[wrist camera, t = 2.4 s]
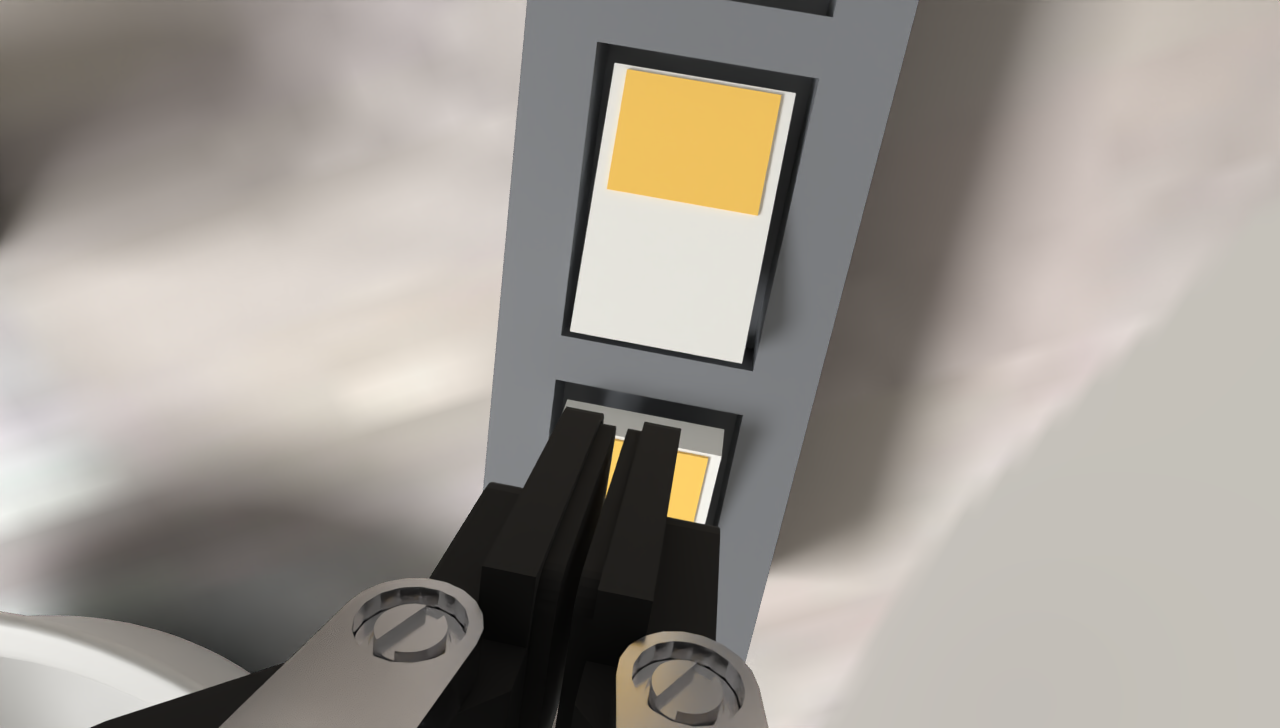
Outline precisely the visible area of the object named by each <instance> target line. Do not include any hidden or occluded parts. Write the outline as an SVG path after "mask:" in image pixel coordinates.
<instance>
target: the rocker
mask: <svg viewBox="0 0 1280 728" xmlns="http://www.w3.org/2000/svg"><path fill="white" fill-rule="evenodd" d="M566 406H567V407H572V408H578V409H583V410H588V411H593V412H598V413H603V414H604V423H603V424H608V425H613V426H616V435H615V442H614V448H613V454H612V461H611V467H610V473H609V479H608V485H607V492H608V489H609V486H610V483H611V479H612V476H613V473H614V470H615V467H616V464H617V461H618V457H619V454H620V451H621V448H622V445H623V442H624V439H625V435H626V432H627V429H634V430H639V431H642V428H643V425H644V422H650V423H655V424H660V425H665V426H670V427H676V428H681V435H680V441H679V447H678V453H677V459H676V465H675V471H674V477H673V483H672V489H671V495H670V501H669V508H668V514H667V517H671V518H676V519H681V520H686V521H691V522H696V523H701V524H705V522H706V518H707V514H708V509H709V505H710V501H711V497H712V493H713V489H714V485H715V481H716V477H717V473H718V469H719V465H720V461H721V457H722V447H723V438H724V429H719V428H714V427H709V426H704V425H699V424H693V423H688V422H683V421H678V420H673V419H667V418H662V417H657V416H652V415H647V414H641V413H636V412H631V411H626V410H621V409H615V408H610V407H605V406H600V405H595V404H589V403H584V402H579V401H574V400H569V399H567V402H566V404H565V407H564V409H565V408H566ZM563 411H564V410H563ZM607 492H606V495H607Z"/></svg>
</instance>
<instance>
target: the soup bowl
mask: <svg viewBox="0 0 1280 728" xmlns="http://www.w3.org/2000/svg"><path fill="white" fill-rule="evenodd" d="M249 674H251V673H249V672H248V671H246V670H245V669H243V668H242V667H240V666H238V665H237V664H235V663H233V662H231V661H230V660H228V659H226V658H225V657H223V656H221V655H219V654H217V653H215V652H213V651H211V650H209V649H207V648H205V647H203V646H200V645H198V644H195V643H193V642H190V641H188V640H186V639H183V638H181V637H178V636H175V635H172V634H169V633H166V632H162V631H159V630H156V629H152V628H148V627H144V626H140V625H136V624H132V623H127V622H121V621H115V620H109V619H102V618H93V617H82V616H64V615H36V616H25V615H19V614H13V613H8V612H2V611H0V728H90V727H93V726H95V725H97V724H100V723H102V722H104V721H107V720H110V719H113V718H116V717H120V716H123V715H126V714H129V713H132V712H135V711H138V710H141V709H144V708H147V707H150V706H153V705H157V704H160V703H163V702H166V701H169V700H172V699H175V698H178V697H181V696H184V695H187V694H190V693H193V692H197V691H200V690H203V689H206V688H209V687H212V686H215V685H218V684H221V683H224V682H227V681H230V680H233V679H237V678H240V677H243V676H246V675H249Z"/></svg>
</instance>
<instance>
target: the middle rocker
mask: <svg viewBox="0 0 1280 728" xmlns="http://www.w3.org/2000/svg"><path fill="white" fill-rule="evenodd" d="M795 95H796V93H792V92H786V91H780V90H774V89H768V88H762V87H756V86H750V85H744V84H738V83H732V82H726V81H720V80H714V79H708V78H702V77H696V76H690V75H685V74H679V73H673V72H667V71H661V70H655V69H649V68H643V67H637V66H631V65H625V64H619V63H615V64H614V70H613V76H612V82H611V88H610V94H609V100H608V106H607V112H606V118H605V124H604V130H603V136H602V142H601V148H600V154H599V160H598V166H597V172H596V178H595V184H594V190H593V196H592V202H591V208H590V214H589V220H588V226H587V232H586V238H585V244H584V250H583V256H582V262H581V268H580V274H579V280H578V286H577V292H576V298H575V304H574V310H573V316H572V322H571V328H570V331H571V332H576V333H581V334H587V335H592V336H597V337H603V338H608V339H613V340H619V341H624V342H629V343H635V344H640V345H645V346H651V347H656V348H661V349H667V350H672V351H677V352H683V353H688V354H693V355H699V356H704V357H709V358H715V359H720V360H725V361H731V362H736V363H741V364H742V361H743V356H744V351H745V346H746V341H747V336H748V331H749V326H750V321H751V316H752V311H753V306H754V301H755V296H756V291H757V286H758V281H759V276H760V271H761V266H762V261H763V256H764V251H765V246H766V241H767V236H768V230H769V225H770V220H771V215H772V210H773V205H774V200H775V195H776V190H777V185H778V180H779V175H780V170H781V165H782V160H783V155H784V150H785V145H786V140H787V135H788V130H789V125H790V120H791V115H792V110H793V105H794V100H795Z"/></svg>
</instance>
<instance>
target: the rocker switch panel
mask: <svg viewBox="0 0 1280 728" xmlns="http://www.w3.org/2000/svg"><path fill="white" fill-rule="evenodd" d="M918 2H919V0H527V8H526V19H525V30H524V41H523V52H522V64H521V75H520V86H519V97H518V108H517V119H516V130H515V142H514V153H513V164H512V175H511V186H510V197H509V208H508V220H507V231H506V242H505V253H504V264H503V275H502V286H501V297H500V309H499V320H498V331H497V342H496V353H495V364H494V375H493V387H492V398H491V409H490V420H489V431H488V442H487V453H486V465H485V476H484V487H483V491H484V489H485V488H486V486H487V485H488V484H489V483H490V482H496V483H501V484H506V485H511V486H516V487H521V488H523V487H524V485H525V483H526V481H527V479H528V478H529V476H530V474H531V472H532V470H533V468H534V466H535V464H536V462H537V460H538V459H539V457H540V455H541V453H542V451H543V449H544V447H545V445H546V443H547V441H548V440H549V438H550V436H551V434H552V432H553V430H554V428H555V426H556V424H557V423H558V421H559V419H560V417H561V415H562V413H563V410H564V407H565V404H566V402H567V399H569V400H574V401H579V402H584V403H589V404H595V405H600V406H605V407H610V408H615V409H621V410H626V411H631V412H636V413H641V414H647V415H652V416H657V417H662V418H667V419H673V420H678V421H683V422H688V423H693V424H699V425H704V426H709V427H714V428H719V429H724V438H723V447H722V457H721V461H720V465H719V469H718V473H717V477H716V481H715V485H714V489H713V493H712V497H711V501H710V505H709V509H708V514H707V518H706V522H705V524H706V525H711V526H716V527H720V555H719V579H718V603H717V627H716V642H718V643H721V644H723V645H724V646H726V647H727V648H728V649H730V650H731V651H733V652H734V653H735V654H737V655H738V656H739V657H740V658H741V659H742V660H743V661H744V662H745V661H746V658H747V654H748V650H749V646H750V642H751V638H752V635H753V631H754V627H755V623H756V619H757V616H758V612H759V608H760V604H761V600H762V597H763V593H764V589H765V585H766V581H767V577H768V574H769V570H770V566H771V562H772V558H773V555H774V551H775V547H776V543H777V539H778V536H779V532H780V528H781V524H782V520H783V516H784V513H785V509H786V505H787V501H788V497H789V494H790V490H791V486H792V482H793V478H794V474H795V471H796V467H797V463H798V459H799V455H800V452H801V448H802V444H803V440H804V436H805V433H806V429H807V425H808V421H809V417H810V413H811V410H812V406H813V402H814V398H815V394H816V391H817V387H818V383H819V379H820V375H821V372H822V368H823V364H824V360H825V356H826V352H827V349H828V345H829V341H830V337H831V333H832V330H833V326H834V322H835V318H836V314H837V311H838V307H839V303H840V299H841V295H842V291H843V288H844V284H845V280H846V276H847V272H848V269H849V265H850V261H851V257H852V253H853V250H854V246H855V242H856V238H857V234H858V230H859V227H860V223H861V219H862V215H863V211H864V208H865V204H866V200H867V196H868V192H869V189H870V185H871V181H872V177H873V173H874V169H875V166H876V162H877V158H878V154H879V150H880V147H881V143H882V139H883V135H884V131H885V128H886V124H887V120H888V116H889V112H890V108H891V105H892V101H893V97H894V93H895V89H896V86H897V82H898V78H899V74H900V70H901V66H902V63H903V59H904V55H905V51H906V47H907V44H908V40H909V36H910V32H911V28H912V25H913V21H914V17H915V13H916V9H917V5H918ZM615 63H619V64H625V65H631V66H637V67H643V68H649V69H655V70H661V71H667V72H673V73H679V74H685V75H690V76H696V77H702V78H708V79H714V80H720V81H726V82H732V83H738V84H744V85H750V86H756V87H762V88H768V89H774V90H780V91H786V92H792V93H796V95H795V100H794V105H793V110H792V115H791V120H790V125H789V130H788V135H787V140H786V145H785V150H784V155H783V160H782V165H781V170H780V175H779V180H778V185H777V190H776V195H775V200H774V205H773V210H772V215H771V220H770V225H769V230H768V236H767V241H766V246H765V251H764V256H763V261H762V266H761V271H760V276H759V281H758V286H757V291H756V296H755V301H754V306H753V311H752V316H751V321H750V326H749V331H748V336H747V341H746V346H745V351H744V356H743V361H742V364H741V363H736V362H731V361H725V360H720V359H715V358H709V357H704V356H699V355H693V354H688V353H683V352H677V351H672V350H667V349H661V348H656V347H651V346H645V345H640V344H635V343H629V342H624V341H619V340H613V339H608V338H603V337H597V336H592V335H587V334H581V333H576V332H571V331H570V328H571V322H572V316H573V310H574V304H575V298H576V292H577V286H578V280H579V274H580V268H581V262H582V256H583V250H584V244H585V238H586V232H587V226H588V220H589V214H590V208H591V202H592V196H593V190H594V184H595V178H596V172H597V166H598V160H599V154H600V148H601V142H602V136H603V130H604V124H605V118H606V112H607V106H608V100H609V94H610V88H611V82H612V76H613V70H614V64H615Z"/></svg>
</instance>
